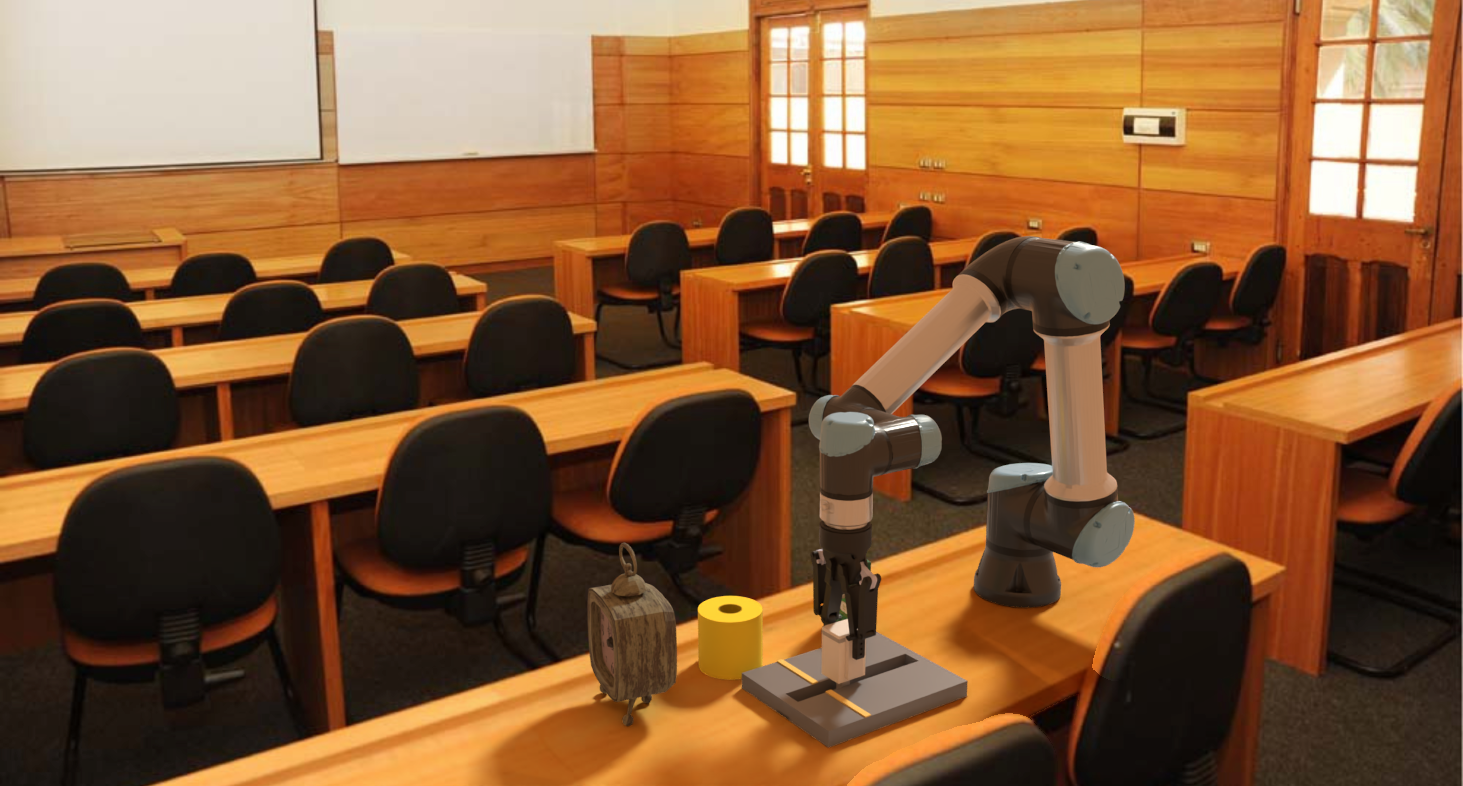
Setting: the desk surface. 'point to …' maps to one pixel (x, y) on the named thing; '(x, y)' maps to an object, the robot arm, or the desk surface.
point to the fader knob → (836, 652)
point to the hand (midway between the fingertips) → (843, 670)
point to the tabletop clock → (631, 638)
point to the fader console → (854, 691)
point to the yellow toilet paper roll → (730, 636)
